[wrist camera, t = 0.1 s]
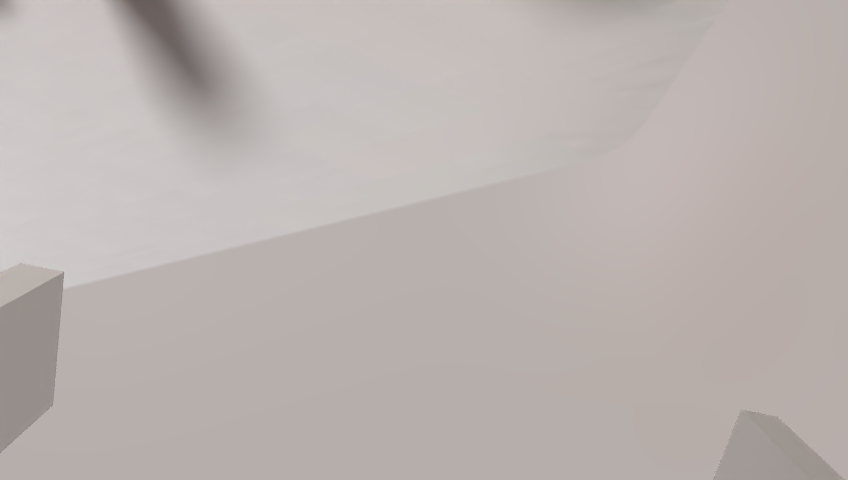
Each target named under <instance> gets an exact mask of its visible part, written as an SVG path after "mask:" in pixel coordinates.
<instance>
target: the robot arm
mask: <svg viewBox="0 0 848 480" xmlns="http://www.w3.org/2000/svg"><path fill="white" fill-rule="evenodd" d="M63 279H64V272H62V271H57V270H52V269H47V268H42V267H37V266H32V265H27V264H22V263H20V264H18V265H16V266H14V267H12V268H10V269H8V270H6V271H3V272H1V273H0V453H1V452H2V451H3V450H4V449H5V448H6V447H7V446H8V445H9V444H11V443H12V442H13V441H14V440H15V439H16V438H17V437H18V436H19V435H21V434H22V433H23V432H24V431H25V430H26V429H27V428H28V427H29V426H30V425H32V424H33V423H34V422H35V421H36V420H37V419H38V418H39V417H40V416H41V415H43V414H44V413H45V412H46V411H47V410H48V409H49V408H50V407H51V406H52V405H53V398H54V386H55V374H56V362H57V349H58V338H59V326H60V314H61V303H62V291H63ZM713 480H845V479H843V478H842V477H841V476H840V475H839V474H838V473H837V472H836V471H835V470H834V469H833V468H832V467H831V466H829V465H828V464H827V463H826V462H825V461H824V460H823V459H822V458H821V457H820V456H819V455H818V454H817V453H815V452H814V451H813V450H812V449H811V448H810V447H809V446H808V445H807V444H806V443H805V442H804V441H803V440H802V439H801V438H799V437H798V436H797V435H796V434H795V433H794V432H793V431H792V430H791V429H790V428H789V427H788V426H787V425H785V424H784V423H783V422H782V421H781V420H780V419H779V418H778V417H775V416H770V415H766V414H761V413H756V412H750V411H746V410H741V411H740V414H739V416H738V419H737V421H736V423H735V426H734V429H733V431H732V434H731V436H730V438H729V441H728V444H727V446H726V449H725V451H724V454H723V456H722V459H721V461H720V464H719V466H718V469H717V471H716V474H715V476H714V479H713Z"/></svg>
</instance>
